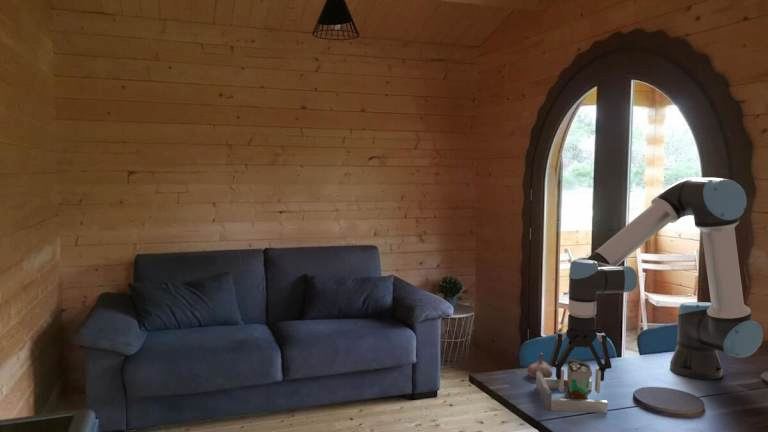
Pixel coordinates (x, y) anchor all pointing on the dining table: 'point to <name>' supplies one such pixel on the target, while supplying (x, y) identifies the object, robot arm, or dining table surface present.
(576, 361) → the food container
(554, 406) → the rail dock
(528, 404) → the dining table surface
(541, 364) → the garlic bulb
